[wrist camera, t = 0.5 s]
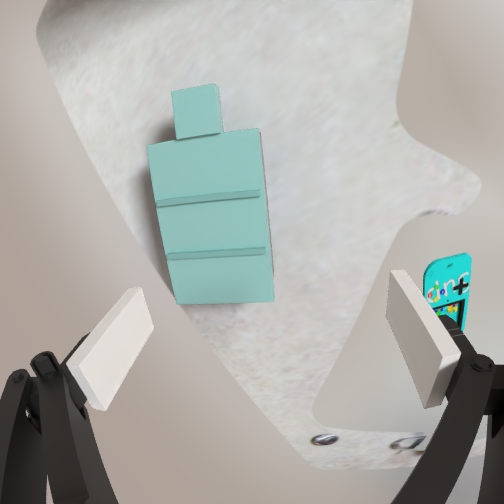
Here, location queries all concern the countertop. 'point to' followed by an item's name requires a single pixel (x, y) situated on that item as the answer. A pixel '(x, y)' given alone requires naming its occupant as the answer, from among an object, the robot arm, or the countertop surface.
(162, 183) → the lid
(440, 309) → the handheld gaming console
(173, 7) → the countertop surface
